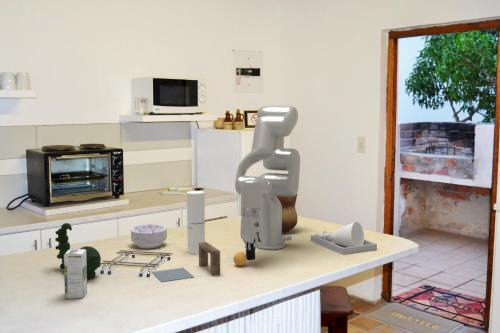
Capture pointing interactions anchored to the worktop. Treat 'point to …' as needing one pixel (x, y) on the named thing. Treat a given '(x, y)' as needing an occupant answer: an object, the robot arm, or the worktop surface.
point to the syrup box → (75, 273)
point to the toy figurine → (91, 253)
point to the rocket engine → (346, 235)
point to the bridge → (214, 257)
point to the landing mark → (172, 274)
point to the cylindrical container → (195, 220)
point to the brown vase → (288, 212)
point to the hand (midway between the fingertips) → (250, 259)
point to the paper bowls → (148, 235)
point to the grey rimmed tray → (348, 250)
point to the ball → (240, 259)
